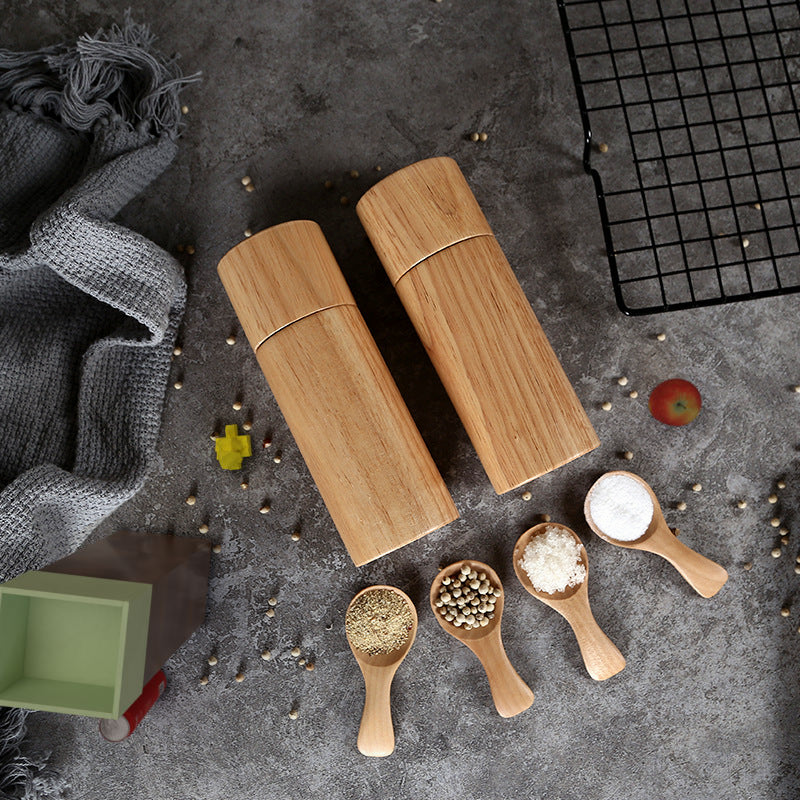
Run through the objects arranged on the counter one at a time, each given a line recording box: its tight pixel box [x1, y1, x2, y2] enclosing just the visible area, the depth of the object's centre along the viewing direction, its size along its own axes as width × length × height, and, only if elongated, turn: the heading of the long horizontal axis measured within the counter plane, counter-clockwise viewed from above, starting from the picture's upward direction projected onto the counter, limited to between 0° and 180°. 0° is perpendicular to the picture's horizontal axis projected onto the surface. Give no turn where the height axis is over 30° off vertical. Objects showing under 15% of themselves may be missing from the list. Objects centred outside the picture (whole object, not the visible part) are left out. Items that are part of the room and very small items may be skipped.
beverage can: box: [98, 669, 168, 744], centre depth 110 cm, size 6×6×15 cm
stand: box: [36, 529, 213, 687], centre depth 104 cm, size 17×15×27 cm
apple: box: [647, 377, 703, 427], centre depth 109 cm, size 8×8×10 cm
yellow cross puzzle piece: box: [214, 424, 253, 471], centre depth 112 cm, size 6×8×8 cm
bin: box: [0, 569, 152, 720], centre depth 87 cm, size 18×16×7 cm
